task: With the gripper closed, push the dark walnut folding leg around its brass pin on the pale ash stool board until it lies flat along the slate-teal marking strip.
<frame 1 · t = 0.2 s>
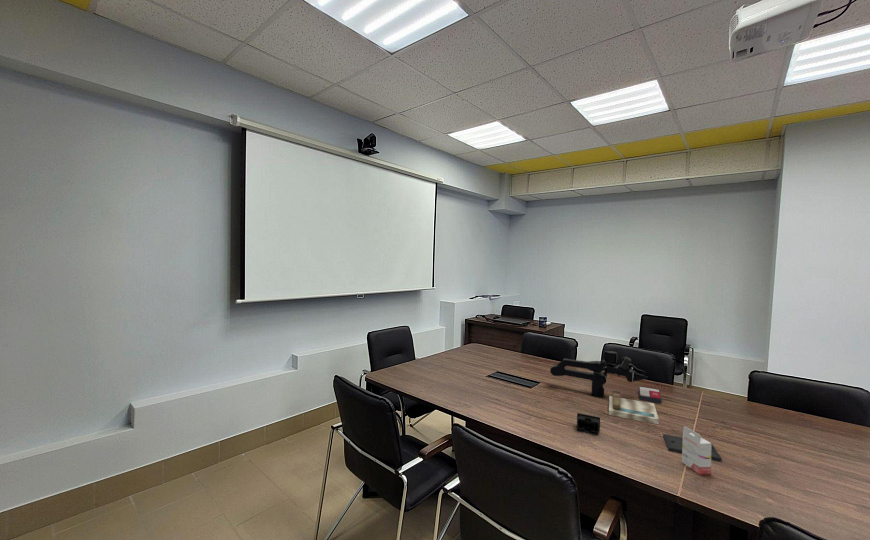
hand: (647, 375, 194), 16 cm above the table, tool horizontal, fingers open, 9 cm apart
ink cartridge box: (696, 468, 132), on the table
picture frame: (690, 450, 147), on the table
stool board: (631, 411, 184), on the table
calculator: (649, 398, 205), on the table
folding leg: (616, 399, 188), point 5 cm above the table, hinge at 90.0°
end cap: (588, 430, 162), on the table
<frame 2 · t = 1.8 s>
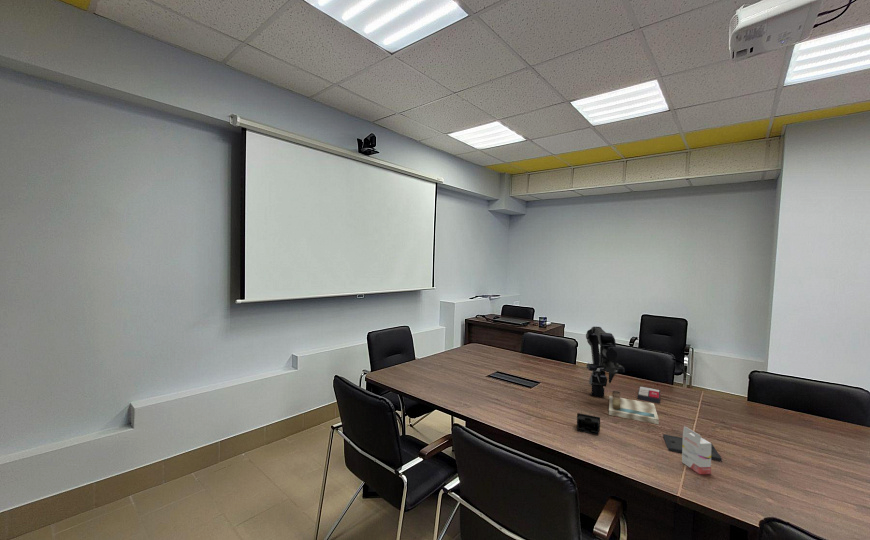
hand: (604, 382, 193), 12 cm above the table, tool pointing down, fingers open, 5 cm apart
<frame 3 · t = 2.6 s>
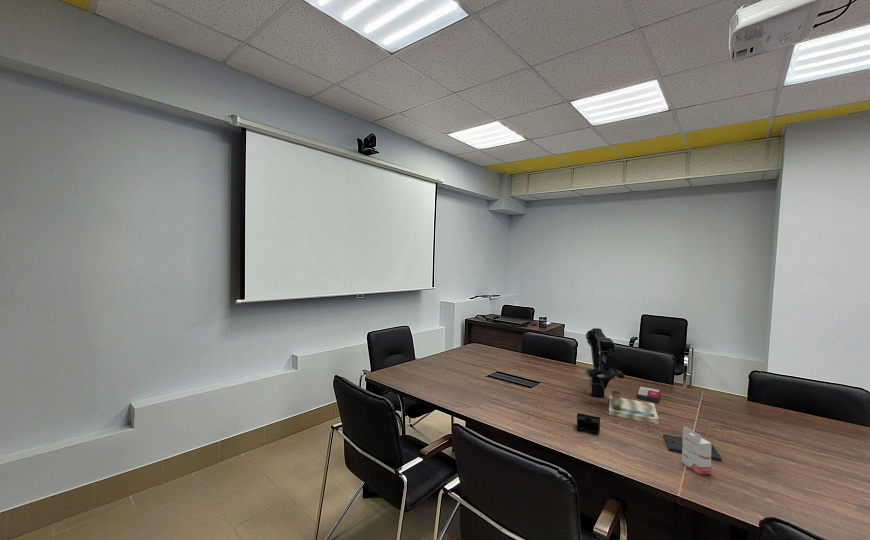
hand: (604, 388, 193), 9 cm above the table, tool pointing down, fingers closed
nothing on the table moved.
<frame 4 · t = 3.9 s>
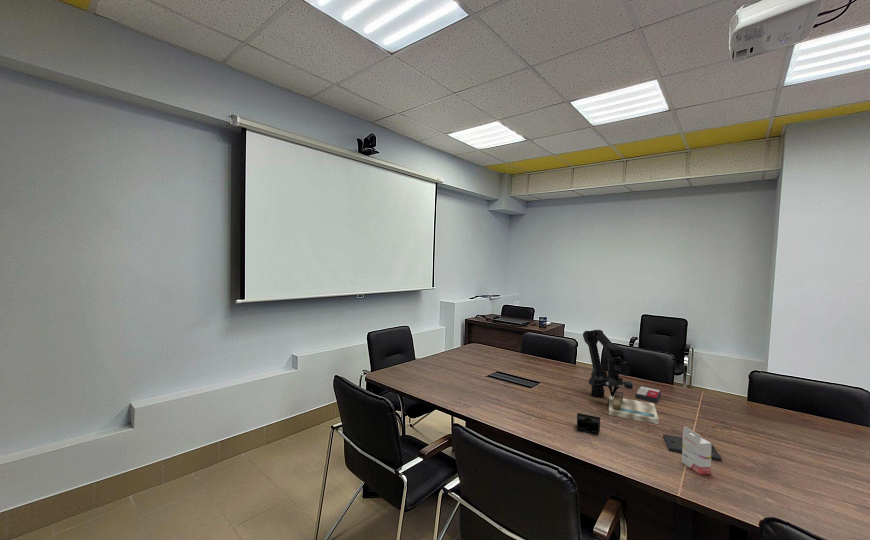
hand: (612, 397, 192), 5 cm above the table, tool pointing down, fingers closed
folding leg: (617, 399, 187), point 5 cm above the table, hinge at 85.1°, touching gripper
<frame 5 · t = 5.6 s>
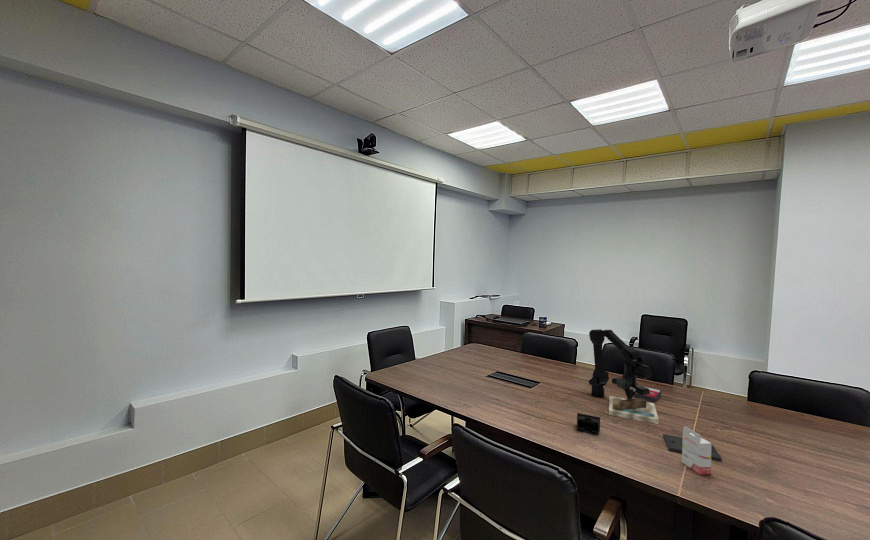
hand: (629, 401, 186), 5 cm above the table, tool pointing down, fingers closed
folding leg: (628, 403, 183), point 5 cm above the table, hinge at 41.1°, touching gripper
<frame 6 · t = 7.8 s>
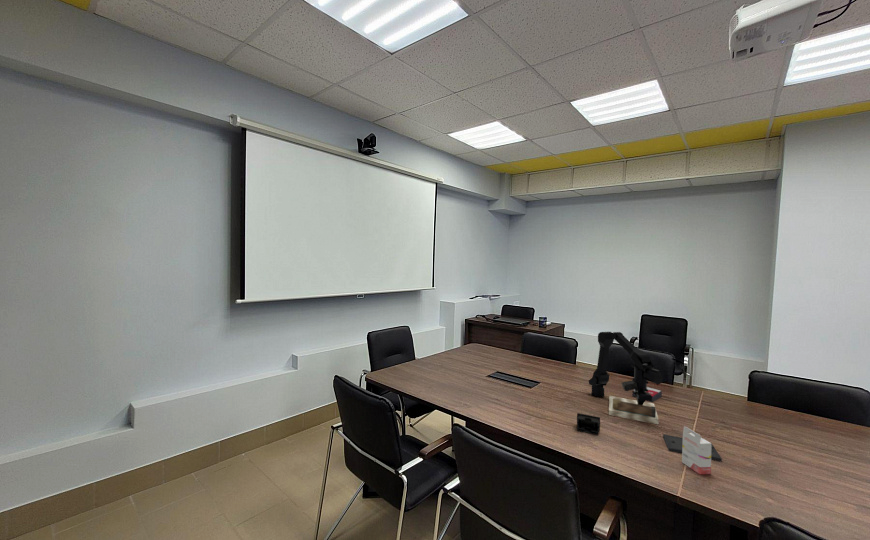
hand: (639, 407, 178), 5 cm above the table, tool pointing down, fingers closed
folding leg: (633, 407, 177), point 5 cm above the table, hinge at -0.2°, touching gripper
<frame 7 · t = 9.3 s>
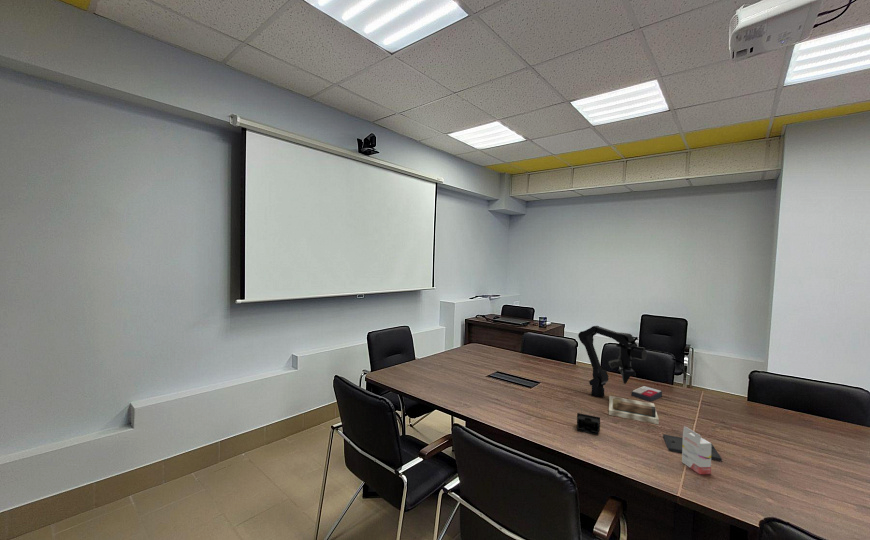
hand: (624, 383, 193), 12 cm above the table, tool pointing down, fingers closed
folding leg: (633, 407, 177), point 5 cm above the table, hinge at -0.3°
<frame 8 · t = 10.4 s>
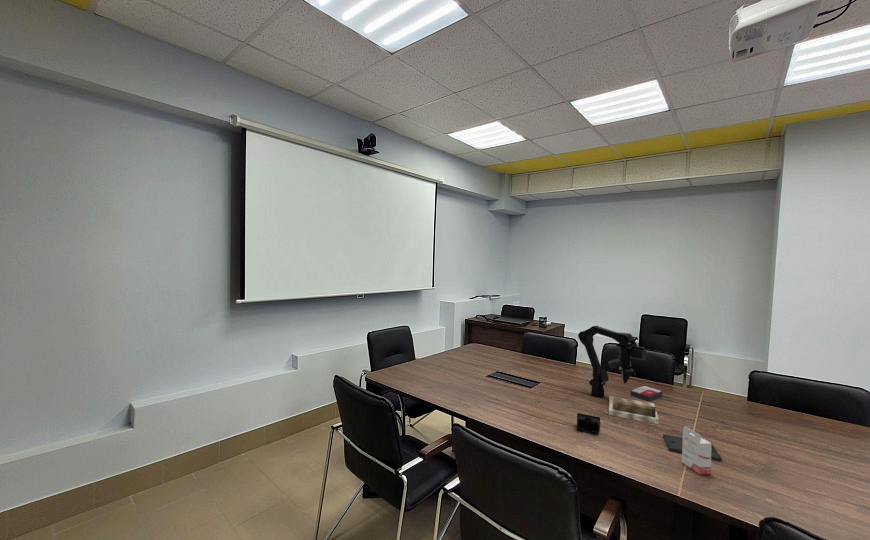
hand: (624, 383, 193), 12 cm above the table, tool pointing down, fingers closed
at the end: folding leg at +0° (first picture: +90°); the gripper is holding nothing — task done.
